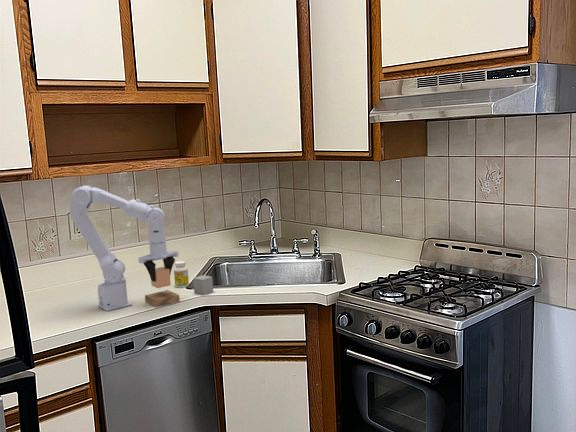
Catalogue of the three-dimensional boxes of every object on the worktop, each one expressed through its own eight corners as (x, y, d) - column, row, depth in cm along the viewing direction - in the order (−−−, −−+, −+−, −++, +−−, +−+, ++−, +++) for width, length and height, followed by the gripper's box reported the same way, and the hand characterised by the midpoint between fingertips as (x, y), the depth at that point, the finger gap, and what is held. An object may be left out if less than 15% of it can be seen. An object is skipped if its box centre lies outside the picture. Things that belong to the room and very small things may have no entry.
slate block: (203, 295, 214) (202, 279, 213) (194, 293, 217) (193, 278, 216) (213, 292, 218) (212, 276, 217) (203, 290, 221) (202, 275, 220)
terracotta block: (157, 288, 204) (156, 271, 203) (151, 285, 208) (150, 269, 207) (170, 285, 207) (169, 269, 206) (164, 282, 211) (163, 266, 210)
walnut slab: (156, 308, 202) (155, 300, 201) (145, 303, 209) (144, 295, 209) (179, 302, 207) (178, 294, 207) (168, 297, 214) (167, 289, 214)
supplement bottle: (191, 285, 229) (190, 261, 228) (182, 288, 225) (180, 264, 223) (181, 283, 232) (180, 260, 231) (172, 286, 228) (170, 263, 226)
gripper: (143, 246, 197) (146, 285, 199) (181, 240, 206) (184, 277, 208) (134, 244, 203) (138, 281, 205) (172, 237, 212) (174, 274, 214)
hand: (160, 279), depth 207 cm, fingers closed on terracotta block, 5 cm apart
